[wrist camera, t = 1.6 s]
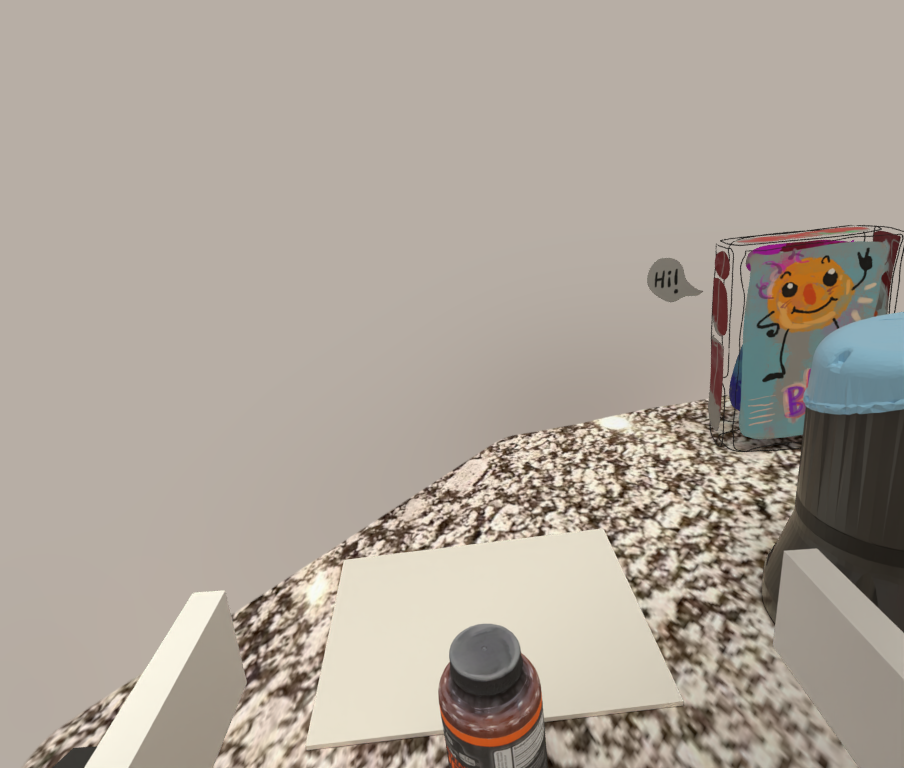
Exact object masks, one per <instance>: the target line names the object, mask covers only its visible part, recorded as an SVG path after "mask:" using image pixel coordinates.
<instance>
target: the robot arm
mask: <svg viewBox="0 0 904 768" xmlns="http://www.w3.org/2000/svg"><path fill="white" fill-rule="evenodd" d="M803 402H804V403H805V406H806V408H805V418H804V428H803V438H802V447H801V457H800V466H799V474H798V483H797V492H796V501H795V509H794V511H793V513H792V515H791V517H790V518H789V520H788V522H787V524H786V526H785V528H784V529H783V531H782V533H781V535H780V537H779V539H778V541H777V543H776V544H775V545H774V546H773V548H772V549H771V550H770V552H769V554H768V555H767V557H766V560H765V564H764V569H763V579H762V598H763V602H764V605H765V607H766V609H767V612H768V613H769V615H770V617H771V618H772V620H773V621H774V623H775V631H774V640H773V647H774V649H775V650H776V652H777V653H778V654H779V656H780V657H781V659H782V660H783V661H784V663H785V664H786V666H787V667H788V668H789V670H790V671H791V673H792V674H793V675H794V677H795V678H796V680H797V681H798V682H799V684H800V685H801V687H802V688H803V689H804V691H805V692H806V694H807V695H808V696H809V698H810V699H811V701H812V702H813V704H814V705H815V706H816V708H817V709H818V711H819V712H820V713H821V715H822V716H823V718H824V719H825V720H826V722H827V723H828V725H829V726H830V727H831V729H832V730H833V732H834V733H835V734H836V736H837V737H838V739H839V740H840V741H841V743H842V744H843V746H844V747H845V748H846V750H847V751H848V753H849V754H850V755H851V757H852V758H853V760H854V761H855V762H856V764H857V765H858V767H859V768H904V312H899V313H893V314H886V315H880V316H876V317H871V318H867V319H863V320H859V321H856V322H853V323H850V324H848V325H845V326H843V327H841V328H839V329H837V330H835V331H833V332H832V333H830V334H829V335H828V336H826V337H825V338H824V339H823V340H822V341H821V342H820V344H819V345H818V347H817V348H816V350H815V353H814V356H813V361H812V367H811V372H810V377H809V383H808V387H807V388H806V390H805V392H804V396H803ZM246 683H247V681H246V677H245V673H244V669H243V664H242V660H241V656H240V651H239V647H238V643H237V639H236V634H235V630H234V626H233V622H232V617H231V613H230V609H229V605H228V601H227V596H226V592H225V591H211V592H197V593H193V594H192V595H191V597H190V599H189V600H188V602H187V603H186V605H185V607H184V608H183V610H182V612H181V613H180V615H179V616H178V618H177V619H176V621H175V623H174V624H173V626H172V628H171V629H170V631H169V632H168V634H167V635H166V637H165V639H164V641H163V642H162V644H161V645H160V647H159V648H158V650H157V652H156V653H155V655H154V656H153V658H152V660H151V661H150V663H149V665H148V666H147V668H146V669H145V671H144V672H143V674H142V676H141V677H140V679H139V681H138V682H137V684H136V685H135V687H134V689H133V690H132V692H131V693H130V695H129V697H128V698H127V700H126V701H125V703H124V705H123V706H122V708H121V709H120V711H119V713H118V714H117V716H116V718H115V719H114V721H113V722H112V724H111V726H110V727H109V729H108V730H107V732H106V734H105V735H104V737H103V738H102V740H101V742H100V743H99V745H98V746H97V747H82V748H73V749H72V750H71V751H70V752H69V753H68V754H67V755H66V756H65V757H63V758H62V759H61V760H60V761H59V762H58V763H57V764H56V765H55V766H54V767H53V768H213V766H214V763H215V761H216V758H217V756H218V753H219V751H220V748H221V746H222V743H223V741H224V738H225V736H226V733H227V731H228V728H229V726H230V723H231V721H232V718H233V716H234V713H235V711H236V708H237V706H238V703H239V701H240V698H241V696H242V693H243V691H244V688H245V686H246Z"/></svg>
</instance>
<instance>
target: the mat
mask: <svg viewBox="0 0 904 768" xmlns="http://www.w3.org/2000/svg"><path fill="white" fill-rule="evenodd" d="M477 624H496V625H500V626H503V627H505V628H507V629H508V630H509V631H511V632H512V633H513V634H514V635H515V636H516V638H517V640H518V642H519V645H520V649H521V653H522V654H523V655H525V656H526V657H527V658H528V659H529V661H530V662H531V663H532V664H533V666H534V667H535V669H536V671H537V674H538V676H539V679H540V684H541V692H542V701H543V714H544V722H549V721H557V720H565V719H574V718H582V717H591V716H599V715H607V714H616V713H624V712H633V711H641V710H650V709H658V708H666V707H675V706H683V705H684V701H683V699H682V696H681V694H680V692H679V690H678V688H677V686H676V683H675V681H674V679H673V677H672V675H671V673H670V671H669V668H668V666H667V664H666V662H665V660H664V658H663V656H662V653H661V651H660V649H659V647H658V645H657V643H656V641H655V638H654V636H653V634H652V632H651V630H650V628H649V626H648V623H647V621H646V619H645V617H644V615H643V613H642V611H641V608H640V606H639V604H638V602H637V600H636V598H635V596H634V593H633V591H632V589H631V587H630V585H629V583H628V581H627V578H626V576H625V574H624V572H623V570H622V568H621V566H620V563H619V561H618V559H617V557H616V555H615V553H614V551H613V548H612V546H611V544H610V542H609V540H608V538H607V536H606V533H605V531H604V529H595V530H587V531H579V532H571V533H562V534H554V535H546V536H538V537H530V538H521V539H513V540H505V541H497V542H488V543H480V544H472V545H464V546H455V547H447V548H439V549H431V550H423V551H414V552H406V553H398V554H390V555H381V556H373V557H365V558H357V559H348V560H344V563H343V568H342V573H341V578H340V583H339V587H338V592H337V597H336V602H335V607H334V611H333V616H332V621H331V626H330V631H329V635H328V640H327V645H326V650H325V655H324V659H323V664H322V669H321V674H320V679H319V684H318V688H317V693H316V698H315V703H314V708H313V712H312V717H311V722H310V727H309V732H308V736H307V741H306V750H313V749H321V748H330V747H338V746H347V745H355V744H363V743H372V742H380V741H389V740H397V739H405V738H414V737H422V736H431V735H439V734H444V731H443V724H442V719H441V712H440V705H439V698H438V689H439V682H440V678H441V675H442V674H443V671H444V669H445V667H446V666H447V664H448V663H449V662H450V659H449V650H450V646H451V644H452V642H453V640H454V639H455V637H456V636H457V635H458V634H459V633H460V632H462V631H463V630H465V629H467V628H468V627H470V626H474V625H477Z"/></svg>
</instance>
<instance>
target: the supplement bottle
mask: <svg viewBox="0 0 904 768" xmlns="http://www.w3.org/2000/svg"><path fill="white" fill-rule="evenodd" d="M449 659H450V662H449V663H448V664H447V666H446V667H445V669H444V671H443V674H442V675H441V678H440V682H439V689H438V698H439V705H440V712H441V719H442V724H443V731H444V736H445V741H446V748H447V754H448V761H449V766H450V768H548V766H547V752H546V740H545V727H544V714H543V701H542V692H541V684H540V679H539V676H538V674H537V671H536V669H535V667H534V666H533V664H532V663H531V662H530V661H529V659H528V658H527V657H526V656H525V655H523V654H522V653H521V649H520V645H519V642H518V640H517V638H516V636H515V635H514V634H513V633H512V632H511V631H509V630H508V629H507V628H505V627H503V626H500V625H496V624H477V625H474V626H470V627H468V628H467V629H465V630H463V631H462V632H460V633H459V634H458V635H457V636H456V637H455V639H454V640H453V642H452V644H451V646H450V650H449Z"/></svg>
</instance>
